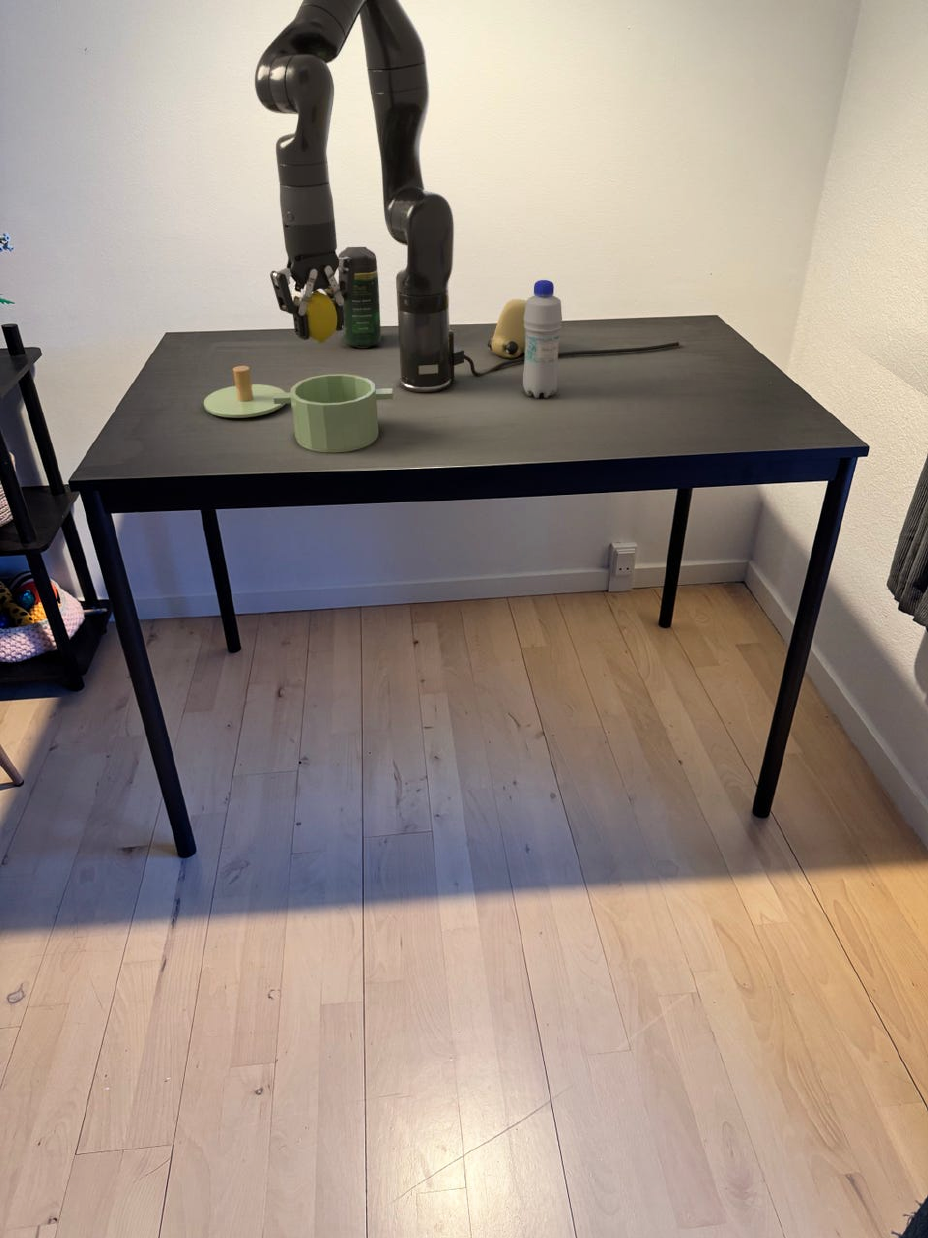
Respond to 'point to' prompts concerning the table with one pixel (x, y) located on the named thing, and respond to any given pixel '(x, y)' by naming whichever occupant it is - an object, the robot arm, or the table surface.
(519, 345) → the beige curved piece
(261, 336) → the table surface
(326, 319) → the lemon
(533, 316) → the bottle
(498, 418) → the table surface
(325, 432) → the pot
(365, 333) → the coffee jar
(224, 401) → the lid
